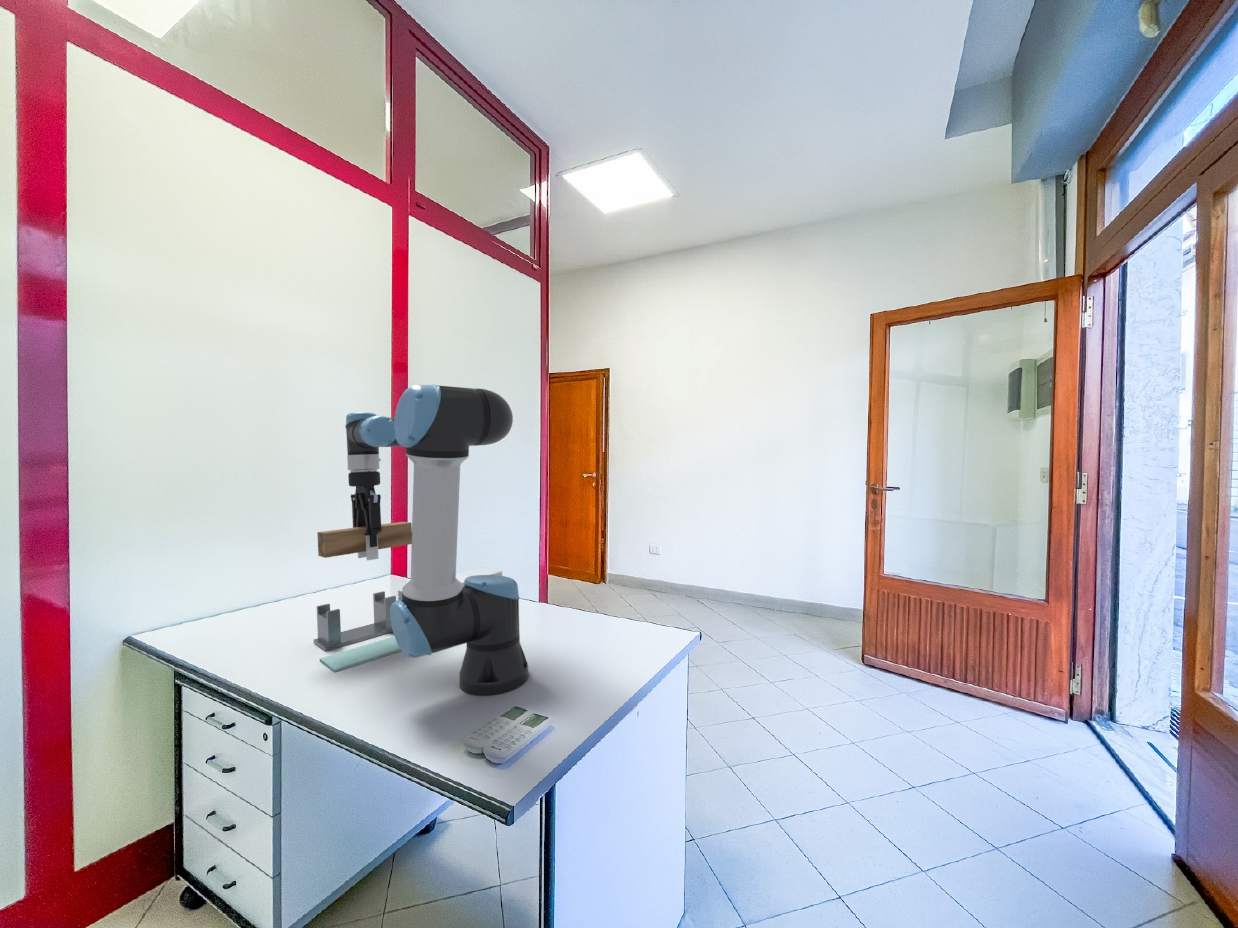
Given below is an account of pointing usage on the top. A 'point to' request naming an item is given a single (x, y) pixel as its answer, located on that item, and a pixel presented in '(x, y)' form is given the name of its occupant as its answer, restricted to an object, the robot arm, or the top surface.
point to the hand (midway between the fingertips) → (368, 558)
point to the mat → (361, 654)
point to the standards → (335, 638)
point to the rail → (362, 539)
